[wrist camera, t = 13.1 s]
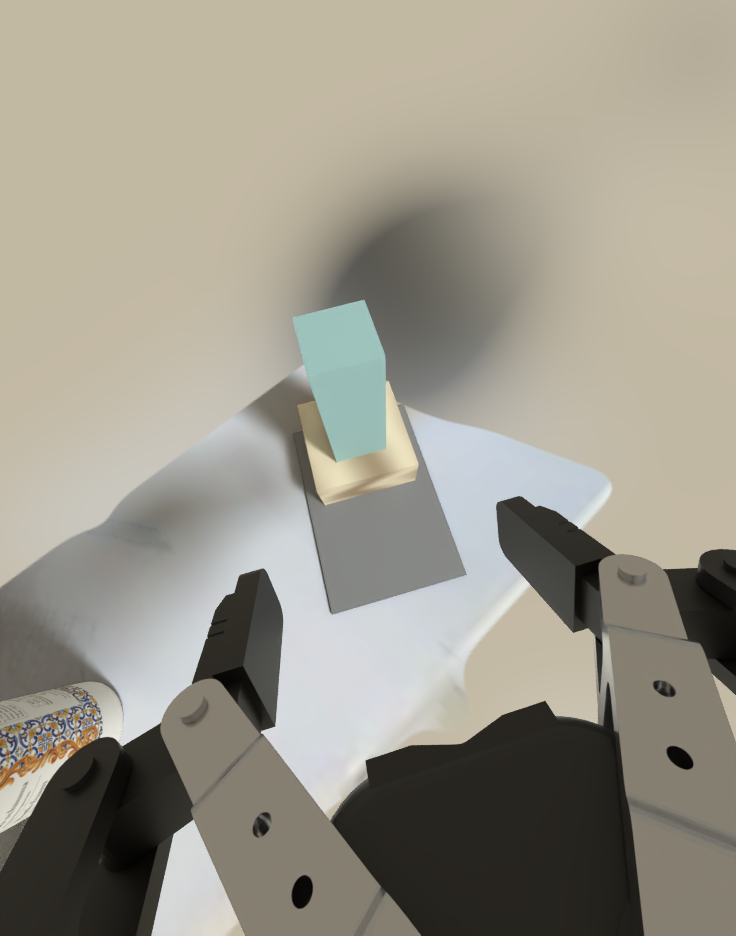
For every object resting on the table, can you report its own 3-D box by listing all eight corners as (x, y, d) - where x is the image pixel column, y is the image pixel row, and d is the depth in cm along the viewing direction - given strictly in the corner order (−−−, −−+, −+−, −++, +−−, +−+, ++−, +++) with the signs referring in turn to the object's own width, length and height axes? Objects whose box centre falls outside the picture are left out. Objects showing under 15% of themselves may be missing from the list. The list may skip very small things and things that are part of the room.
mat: (332, 614, 30) (332, 614, 29) (293, 434, 36) (293, 433, 36) (465, 574, 30) (466, 574, 30) (403, 405, 37) (403, 404, 37)
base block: (324, 505, 33) (316, 492, 29) (306, 425, 36) (296, 405, 33) (415, 480, 33) (418, 464, 30) (388, 404, 37) (388, 380, 33)
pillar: (336, 462, 30) (307, 376, 19) (325, 419, 32) (292, 317, 21) (386, 448, 30) (385, 356, 19) (372, 406, 32) (364, 299, 21)
